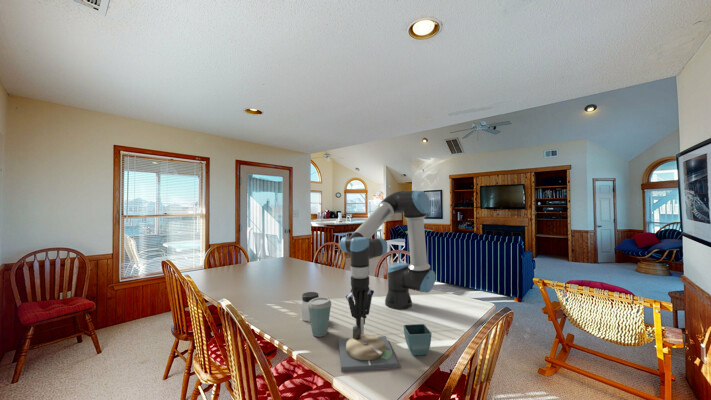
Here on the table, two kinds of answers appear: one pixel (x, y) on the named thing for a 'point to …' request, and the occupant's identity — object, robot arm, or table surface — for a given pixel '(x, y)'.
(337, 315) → the table surface
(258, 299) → the table surface
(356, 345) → the dial
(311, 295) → the jar
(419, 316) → the table surface
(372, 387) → the table surface
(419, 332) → the flower pot
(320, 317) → the disposable coffee cup
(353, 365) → the tuner base
